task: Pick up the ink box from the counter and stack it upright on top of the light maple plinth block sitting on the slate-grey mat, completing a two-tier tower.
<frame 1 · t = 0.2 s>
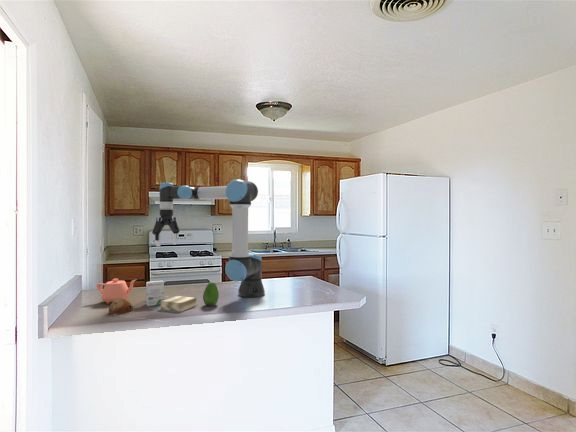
hand: (166, 245, 225), 28 cm above the countertop, fingers open, 13 cm apart
maple plinth: (178, 307, 189), resting on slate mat
bread roll: (121, 312, 182), on the countertop
avocado: (210, 306, 194), on the countertop
teapot: (117, 302, 203), on the countertop
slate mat: (173, 307, 190), on the countertop
ink box: (156, 304, 196), on the countertop, touching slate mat
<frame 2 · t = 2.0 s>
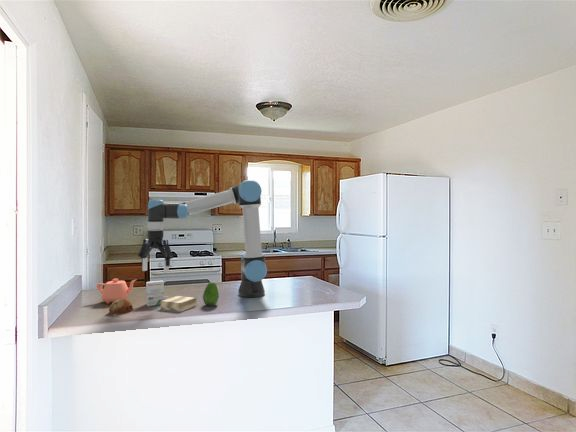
hand: (155, 271, 195), 17 cm above the countertop, fingers open, 13 cm apart
nothing on the countertop moved.
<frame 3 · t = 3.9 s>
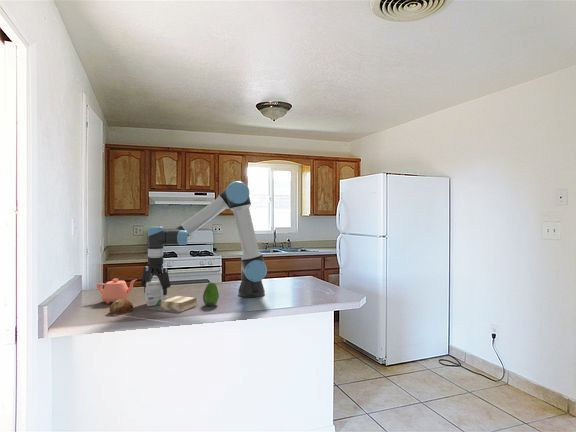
hand: (155, 300, 196), 2 cm above the countertop, fingers closed on ink box, 10 cm apart
ink box: (156, 304, 196), on the countertop, touching gripper, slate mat
everything else where it was.
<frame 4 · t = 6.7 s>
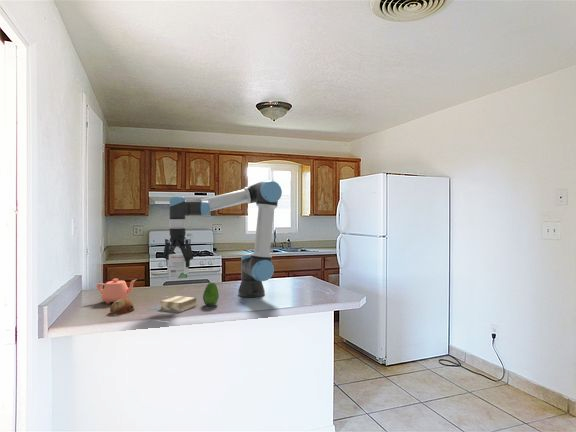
hand: (178, 273, 189), 17 cm above the countertop, fingers closed on ink box, 9 cm apart
ink box: (178, 278, 189), point 15 cm above the countertop, touching gripper
everything else where it was.
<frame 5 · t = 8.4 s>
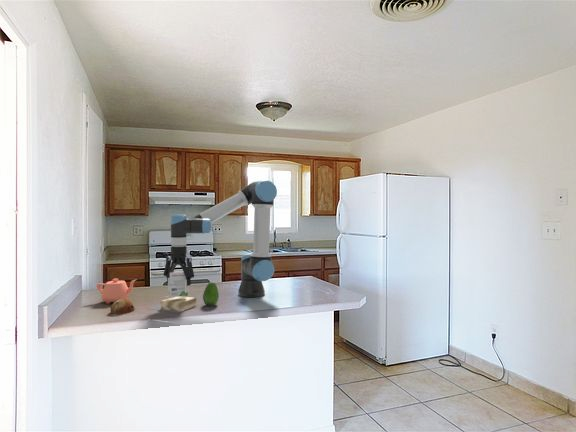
hand: (178, 291, 189), 8 cm above the countertop, fingers closed on ink box, 9 cm apart
ink box: (178, 296, 189), point 6 cm above the countertop, touching gripper
everything else where it was.
when the fingers open (7 cm above the countertop, at t = 9.5 s): ink box stays where it is, resting on maple plinth.
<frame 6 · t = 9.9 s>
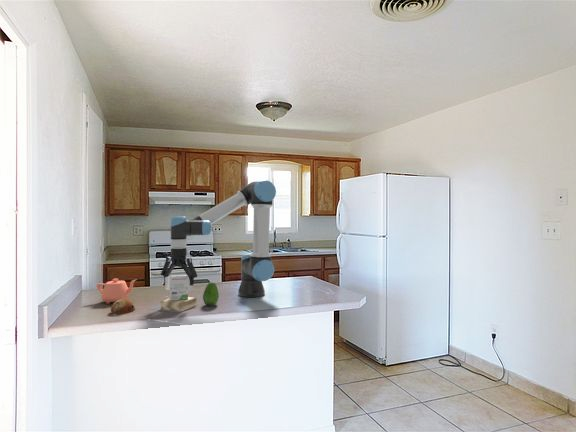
hand: (178, 290, 189), 9 cm above the countertop, fingers open, 13 cm apart
maple plinth: (178, 307, 189), resting on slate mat, touching ink box
ink box: (178, 299, 189), point 4 cm above the countertop, touching maple plinth
everything else where it was.
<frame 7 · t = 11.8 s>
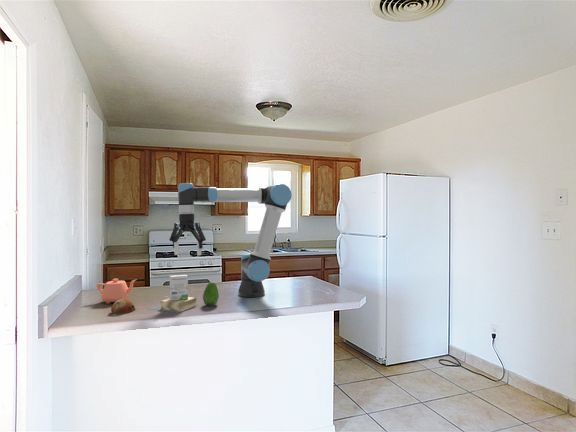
hand: (187, 254, 196), 25 cm above the countertop, fingers open, 13 cm apart
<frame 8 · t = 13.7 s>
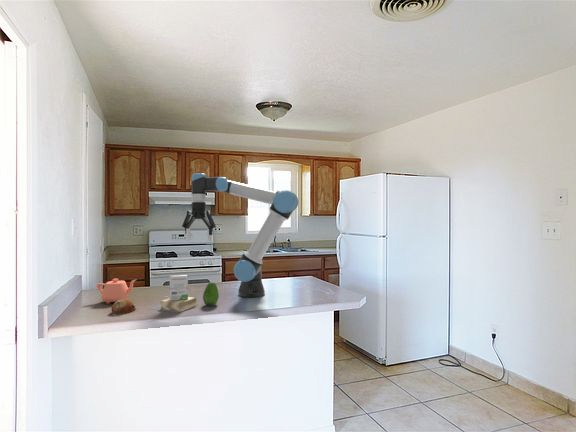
hand: (198, 240, 209), 32 cm above the countertop, fingers open, 13 cm apart
at the end: ink box inside the target area on the maple plinth (0.1 cm from its centre), point 3.8 cm above the maple plinth's base; ink box tilted 0°; ink box touching maple plinth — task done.
